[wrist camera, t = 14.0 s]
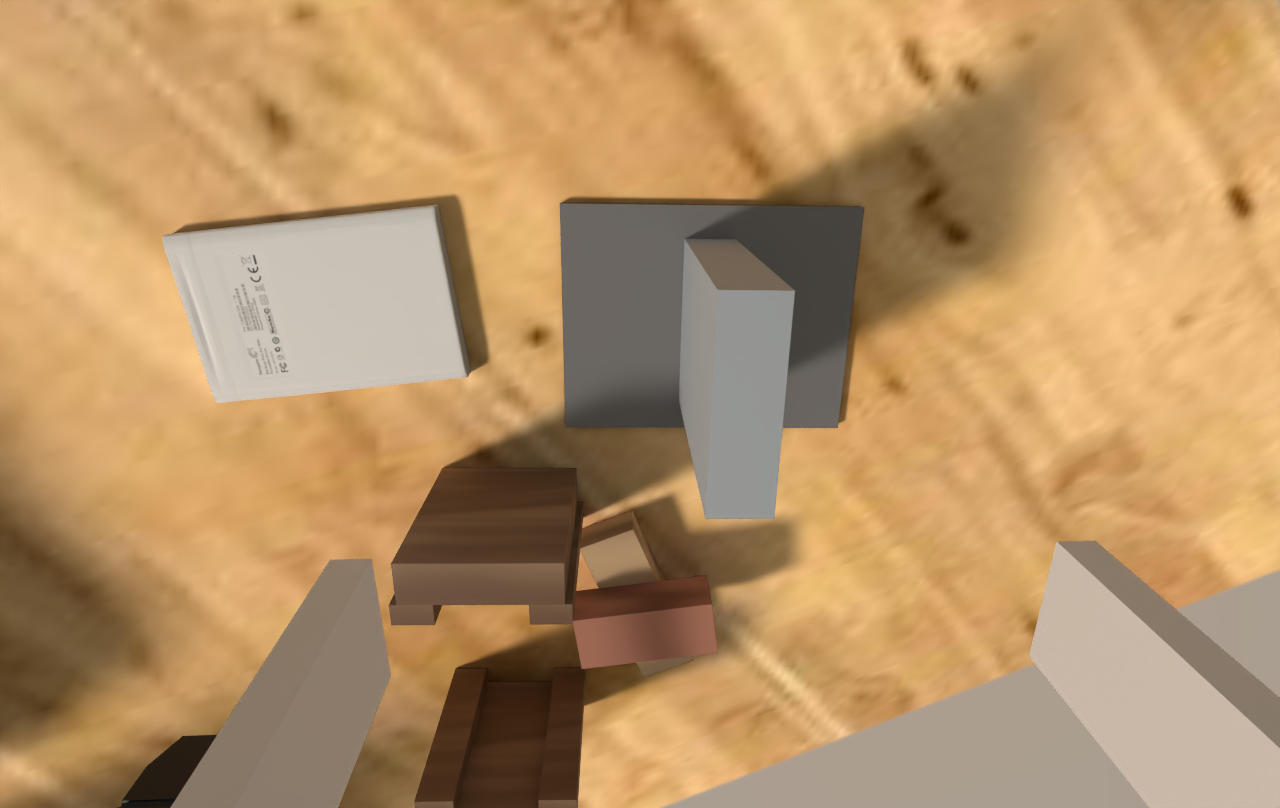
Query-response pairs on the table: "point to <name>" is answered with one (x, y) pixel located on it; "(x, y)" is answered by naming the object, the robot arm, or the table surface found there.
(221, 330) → the external hard drive
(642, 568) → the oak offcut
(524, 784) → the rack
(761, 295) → the grey upright panel
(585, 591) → the mahogany offcut
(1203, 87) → the table surface
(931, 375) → the table surface
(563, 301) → the mat
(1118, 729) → the robot arm
